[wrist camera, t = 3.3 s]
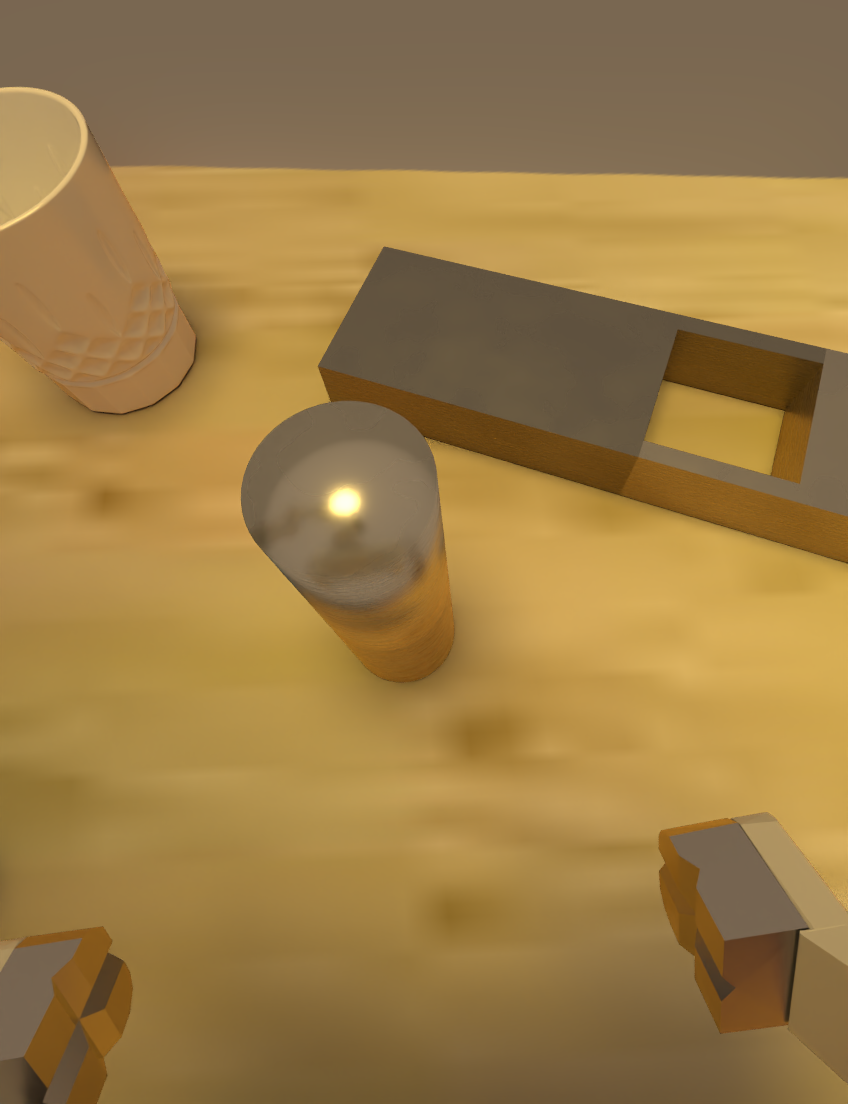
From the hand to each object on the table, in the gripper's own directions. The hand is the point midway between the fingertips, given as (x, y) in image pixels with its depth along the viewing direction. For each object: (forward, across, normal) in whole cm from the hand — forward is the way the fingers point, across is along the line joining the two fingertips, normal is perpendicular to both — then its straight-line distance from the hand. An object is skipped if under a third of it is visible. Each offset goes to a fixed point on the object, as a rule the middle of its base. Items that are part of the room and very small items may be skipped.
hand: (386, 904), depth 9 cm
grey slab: (+18, -14, 0) cm, 23 cm away
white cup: (+26, +12, -8) cm, 29 cm away
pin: (+14, 0, +4) cm, 15 cm away
